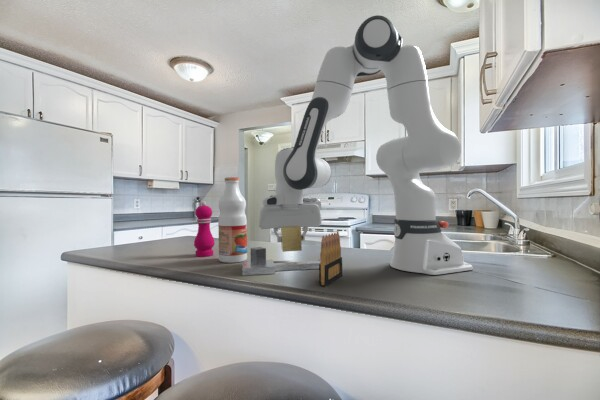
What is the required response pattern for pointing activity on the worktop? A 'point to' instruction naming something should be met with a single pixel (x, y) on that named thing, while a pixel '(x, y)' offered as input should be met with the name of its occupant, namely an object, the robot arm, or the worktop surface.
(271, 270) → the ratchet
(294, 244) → the tan sponge block
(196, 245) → the pepper mill
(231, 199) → the fruit juice
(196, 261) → the worktop surface
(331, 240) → the ammunition clip
